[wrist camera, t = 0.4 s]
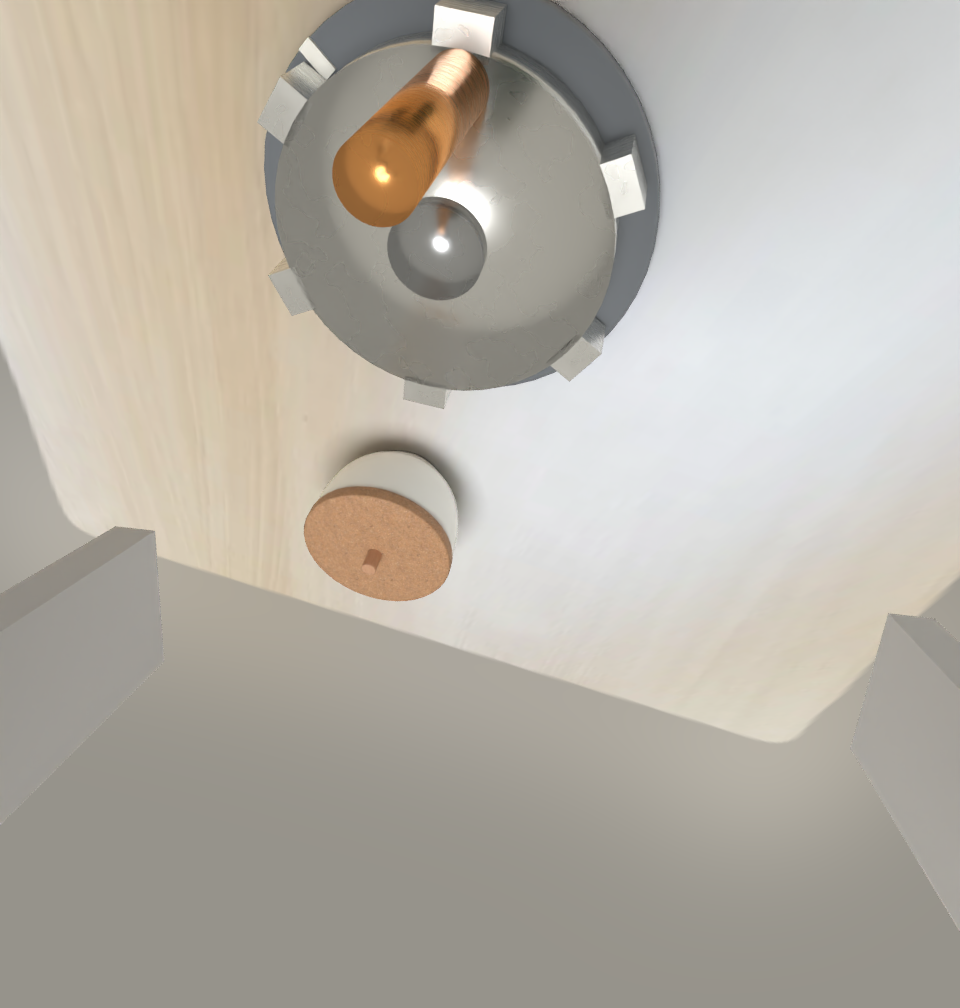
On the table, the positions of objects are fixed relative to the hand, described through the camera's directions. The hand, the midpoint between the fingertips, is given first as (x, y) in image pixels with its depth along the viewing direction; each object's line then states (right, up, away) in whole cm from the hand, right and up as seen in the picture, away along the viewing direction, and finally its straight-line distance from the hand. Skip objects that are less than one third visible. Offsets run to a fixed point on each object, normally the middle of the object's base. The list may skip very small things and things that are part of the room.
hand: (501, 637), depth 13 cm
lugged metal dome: (-2, +18, +27) cm, 32 cm away
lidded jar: (-6, +4, +44) cm, 45 cm away
